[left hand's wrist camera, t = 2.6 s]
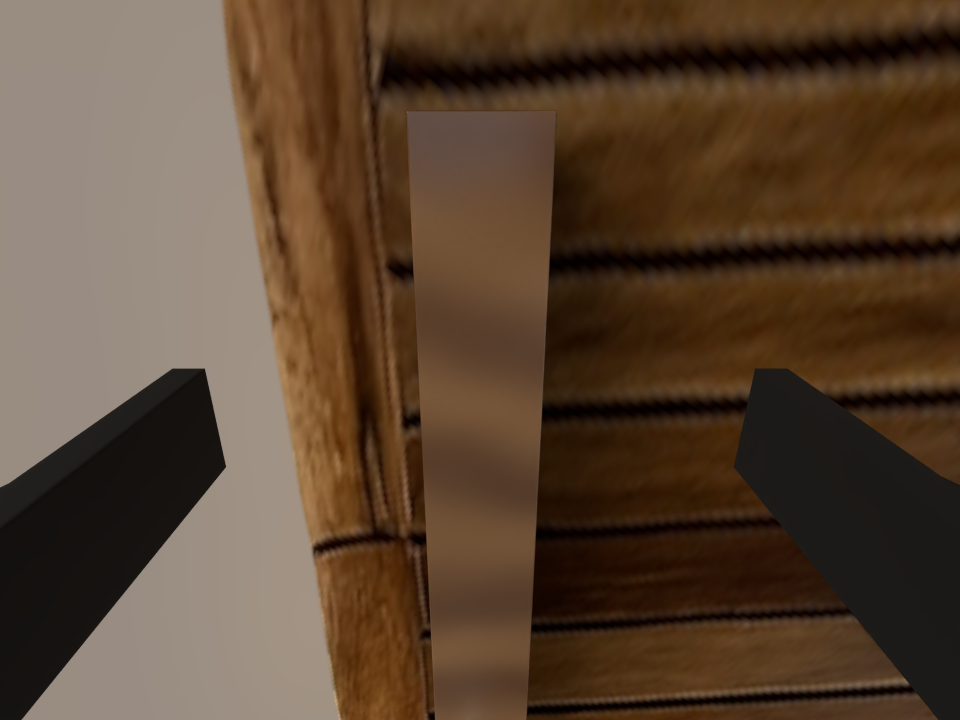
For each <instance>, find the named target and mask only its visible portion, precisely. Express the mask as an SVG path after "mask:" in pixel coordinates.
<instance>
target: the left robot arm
mask: <svg viewBox="0 0 960 720" xmlns="http://www.w3.org/2000/svg"><path fill="white" fill-rule="evenodd" d="M225 468H226V465H225V460H224V456H223V451H222V446H221V441H220V437H219V432H218V428H217V423H216V418H215V414H214V409H213V404H212V400H211V395H210V391H209V386H208V381H207V377H206V372H205V369H171V370H170V371H169V372H167V373H166V374H164V375H163V376H161V377H160V378H159V379H157V380H156V381H154V382H153V383H151V384H150V385H149V386H147V387H146V388H144V389H143V390H142V391H140V392H139V393H137V394H136V395H134V396H133V397H132V398H130V399H129V400H127V401H126V402H124V403H123V404H122V405H120V406H119V407H117V408H116V409H114V410H113V411H112V412H110V413H109V414H107V415H106V416H104V417H103V418H102V419H100V420H99V421H97V422H96V423H94V424H93V425H92V426H90V427H89V428H87V429H86V430H84V431H83V432H82V433H80V434H79V435H77V436H76V437H74V438H73V439H72V440H70V441H69V442H67V443H66V444H64V445H63V446H62V447H60V448H59V449H57V450H56V451H55V452H53V453H52V454H50V455H49V456H47V457H46V458H45V459H43V460H42V461H40V462H39V463H37V464H36V465H35V466H33V467H32V468H30V469H29V470H27V471H26V472H25V473H23V474H22V475H20V476H19V477H17V478H16V479H15V480H13V481H12V482H10V483H9V484H7V485H5V486H2V487H0V720H22V718H23V717H24V716H25V715H26V714H27V712H28V711H29V710H30V709H31V707H32V706H33V705H34V704H35V702H36V701H37V700H38V699H39V697H40V696H41V695H42V694H43V692H44V691H45V690H46V689H47V688H48V686H49V685H50V684H51V683H52V681H53V680H54V679H55V678H56V676H57V675H58V674H59V673H60V671H61V670H62V669H63V668H64V667H65V665H66V664H67V663H68V662H69V660H70V659H71V658H72V657H73V655H74V654H75V653H76V652H77V651H78V649H79V648H80V647H81V646H82V644H83V643H84V642H85V641H86V639H87V638H88V637H89V636H90V634H91V633H92V632H93V631H94V630H95V628H96V627H97V626H98V625H99V623H100V622H101V621H102V620H103V618H104V617H105V616H106V615H107V613H108V612H109V611H110V610H111V609H112V607H113V606H114V605H115V604H116V602H117V601H118V600H119V599H120V597H121V596H122V595H123V594H124V592H125V591H126V590H127V589H128V587H129V586H130V585H131V584H132V583H133V581H134V580H135V579H136V578H137V576H138V575H139V574H140V573H141V571H142V570H143V569H144V568H145V566H146V565H147V564H148V563H149V561H150V560H151V559H152V558H153V557H154V555H155V554H156V553H157V552H158V550H159V549H160V548H161V547H162V546H163V544H164V543H165V542H166V541H167V539H168V538H169V537H170V536H171V534H172V533H173V532H174V531H175V529H176V528H177V527H178V526H179V524H180V523H181V522H182V521H183V519H184V518H185V517H186V516H187V515H188V513H189V512H190V511H191V510H192V508H193V507H194V506H195V505H196V503H197V502H198V501H199V500H200V498H201V497H202V496H203V495H204V494H205V492H206V491H207V490H208V489H209V487H210V486H211V485H212V484H213V482H214V481H215V480H216V479H217V478H218V476H219V475H220V474H221V473H222V471H223V470H224V469H225ZM734 468H735V469H736V470H737V471H738V473H739V474H740V475H741V476H742V478H743V479H744V480H745V481H746V482H747V484H748V485H749V486H750V487H751V489H752V490H753V491H754V492H755V494H756V495H757V496H758V497H759V499H760V500H761V501H762V502H763V503H764V505H765V506H766V507H767V508H768V510H769V511H770V512H771V513H772V515H773V516H774V517H775V518H776V520H777V521H778V522H779V523H780V524H781V526H782V527H783V528H784V529H785V531H786V532H787V533H788V534H789V536H790V537H791V538H792V539H793V541H794V542H795V543H796V544H797V546H798V547H799V548H800V549H801V550H802V552H803V553H804V554H805V555H806V557H807V558H808V559H809V560H810V562H811V563H812V564H813V565H814V567H815V568H816V569H817V570H818V571H819V573H820V574H821V575H822V576H823V578H824V579H825V580H826V581H827V583H828V584H829V585H830V586H831V588H832V589H833V590H834V591H835V592H836V594H837V595H838V596H839V597H840V599H841V600H842V601H843V602H844V604H845V605H846V606H847V607H848V609H849V610H850V611H851V612H852V613H853V615H854V616H855V617H856V618H857V620H858V621H859V622H860V623H861V625H862V626H863V627H864V628H865V630H866V631H867V632H868V633H869V634H870V636H871V637H872V638H873V639H874V641H875V642H876V643H877V644H878V646H879V647H880V648H881V649H882V651H883V652H884V653H885V654H886V655H887V657H888V658H889V659H890V660H891V662H892V663H893V664H894V665H895V667H896V668H897V669H898V670H899V672H900V673H901V674H902V675H903V676H904V678H905V679H906V680H907V681H908V683H909V684H910V685H911V686H912V688H913V689H914V690H915V691H916V693H917V694H918V695H919V696H920V698H921V699H922V700H923V701H924V702H925V704H926V705H927V706H928V707H929V709H930V710H931V711H932V712H933V714H934V715H935V716H936V717H937V719H938V720H960V485H958V484H956V483H954V482H952V481H950V480H948V479H946V478H943V477H941V476H940V475H938V474H937V473H935V472H934V471H933V470H931V469H930V468H928V467H927V466H925V465H924V464H923V463H921V462H920V461H918V460H917V459H915V458H914V457H913V456H911V455H910V454H908V453H907V452H905V451H904V450H903V449H901V448H900V447H898V446H897V445H896V444H894V443H893V442H891V441H890V440H888V439H887V438H886V437H884V436H883V435H881V434H880V433H878V432H877V431H876V430H874V429H873V428H871V427H870V426H868V425H867V424H866V423H864V422H863V421H861V420H860V419H858V418H857V417H856V416H854V415H853V414H851V413H850V412H848V411H847V410H846V409H844V408H843V407H841V406H840V405H838V404H837V403H836V402H834V401H833V400H831V399H830V398H828V397H827V396H826V395H824V394H823V393H821V392H820V391H818V390H817V389H816V388H814V387H813V386H811V385H810V384H809V383H807V382H806V381H804V380H803V379H801V378H800V377H799V376H797V375H796V374H794V373H793V372H791V371H790V370H789V369H755V372H754V377H753V381H752V386H751V391H750V395H749V400H748V404H747V409H746V414H745V418H744V423H743V428H742V432H741V437H740V441H739V446H738V451H737V455H736V460H735V465H734Z"/></svg>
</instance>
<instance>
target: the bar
mask: <svg viewBox="0 0 960 720" xmlns="http://www.w3.org/2000/svg"><path fill="white" fill-rule="evenodd" d="M556 123H557V111H555V110H408V111H406V125H407V145H408V166H409V187H410V207H411V228H412V249H413V269H414V290H415V311H416V331H417V352H418V373H419V393H420V414H421V434H422V455H423V476H424V496H425V517H426V538H427V558H428V579H429V600H430V620H431V641H432V662H433V682H434V703H435V720H526V719H527V699H528V679H529V660H530V640H531V620H532V600H533V580H534V560H535V540H536V521H537V501H538V481H539V461H540V441H541V421H542V401H543V381H544V362H545V342H546V322H547V302H548V282H549V262H550V242H551V222H552V203H553V183H554V163H555V143H556Z"/></svg>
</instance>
